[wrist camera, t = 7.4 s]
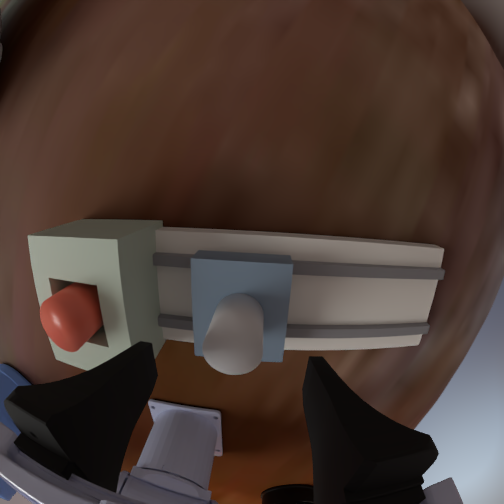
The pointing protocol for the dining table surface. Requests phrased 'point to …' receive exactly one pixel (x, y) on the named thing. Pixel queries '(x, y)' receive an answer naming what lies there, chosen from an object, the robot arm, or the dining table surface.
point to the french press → (289, 494)
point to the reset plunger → (72, 316)
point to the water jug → (3, 383)
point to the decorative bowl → (0, 36)
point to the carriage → (240, 308)
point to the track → (193, 239)
